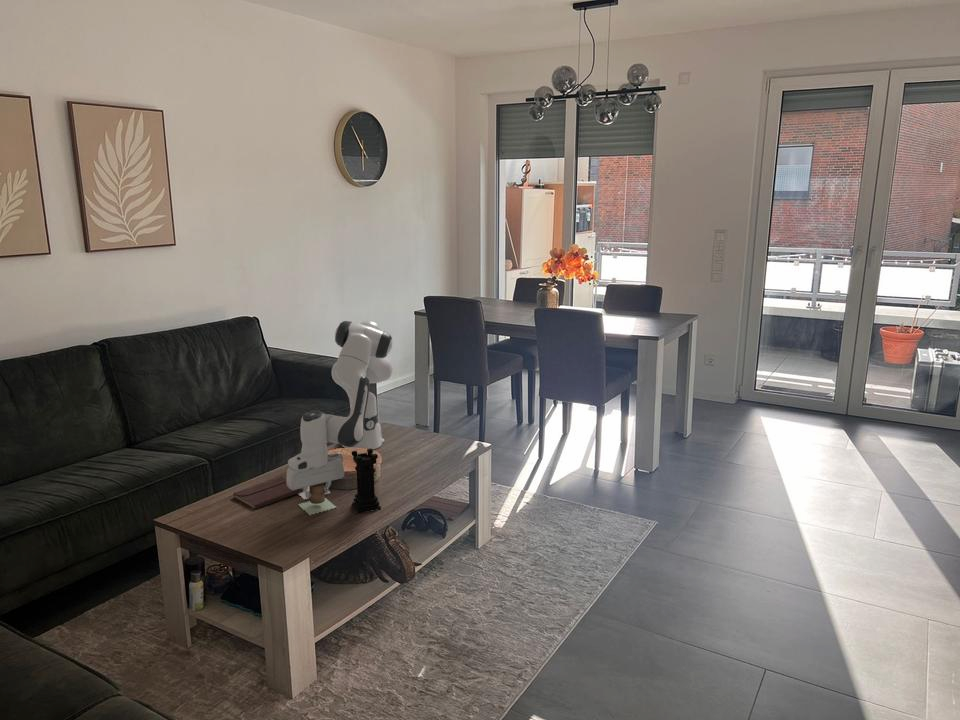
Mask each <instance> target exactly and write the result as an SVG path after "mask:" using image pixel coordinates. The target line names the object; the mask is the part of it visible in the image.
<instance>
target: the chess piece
mask: <svg viewBox="0 0 960 720" xmlns="http://www.w3.org/2000/svg"><path fill="white" fill-rule="evenodd" d="M378 455H379V454H378V453H374V449H372V448H370V449H367V451H366V452H363V453H358V451H357V450H351V456H352V458H353V459H352V460H353V462H354V463H355V464H356V466H354V469H355V472H356V487H357V488H356V490H357V491H356V494H354V498H353V502H351V505H352V506H353V508H354V507H355V508H354V509H355V510H357V511H356V513H357V514H363V513H362V512H364V513H367V512H366V511H369V512H372V511H371V510H374V511H377V510H376V509H379V510H381V509H382V508H381V506H380V502H379V499H378V496H377V495H376V494H375V493H376V492H375V473H376V469H375V466H374V465H377V464H378V463H377V459H378V458H379V456H378Z"/></svg>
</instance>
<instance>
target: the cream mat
mask: <svg viewBox="0 0 960 720" xmlns="http://www.w3.org/2000/svg"><path fill="white" fill-rule="evenodd" d="M307 491H309V486H308V489H307ZM309 492H310V491H309ZM329 494H331V491H329V490H328V493H326V494H324V496H325V495H329ZM297 495H298V496H299V497H300V496H301V497H300V498H302V500H304V501H305V499H306V500H310V499H309V498H306V496H305V492H304V491H303V492H300V493H298V494H297Z"/></svg>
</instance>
